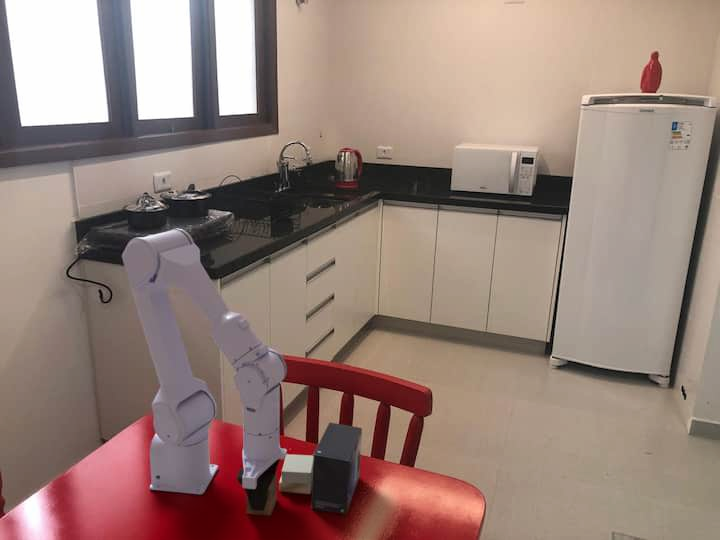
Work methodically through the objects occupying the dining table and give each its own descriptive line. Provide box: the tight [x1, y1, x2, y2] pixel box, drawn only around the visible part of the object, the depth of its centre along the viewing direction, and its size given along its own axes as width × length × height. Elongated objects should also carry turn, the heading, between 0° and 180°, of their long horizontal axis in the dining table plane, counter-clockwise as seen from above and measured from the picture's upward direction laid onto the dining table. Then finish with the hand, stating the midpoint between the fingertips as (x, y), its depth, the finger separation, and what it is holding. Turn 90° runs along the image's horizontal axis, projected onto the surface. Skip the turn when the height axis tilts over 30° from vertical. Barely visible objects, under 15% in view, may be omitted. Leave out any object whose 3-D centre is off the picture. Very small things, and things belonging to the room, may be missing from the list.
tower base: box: [278, 474, 313, 495], centre depth 101 cm, size 6×6×2 cm
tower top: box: [281, 453, 313, 484], centre depth 100 cm, size 5×5×2 cm
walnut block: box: [245, 473, 278, 517], centre depth 94 cm, size 4×4×5 cm
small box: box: [310, 422, 363, 515], centre depth 97 cm, size 11×6×10 cm, turn 168°
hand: (261, 498), depth 94 cm, fingers open, 4 cm apart
